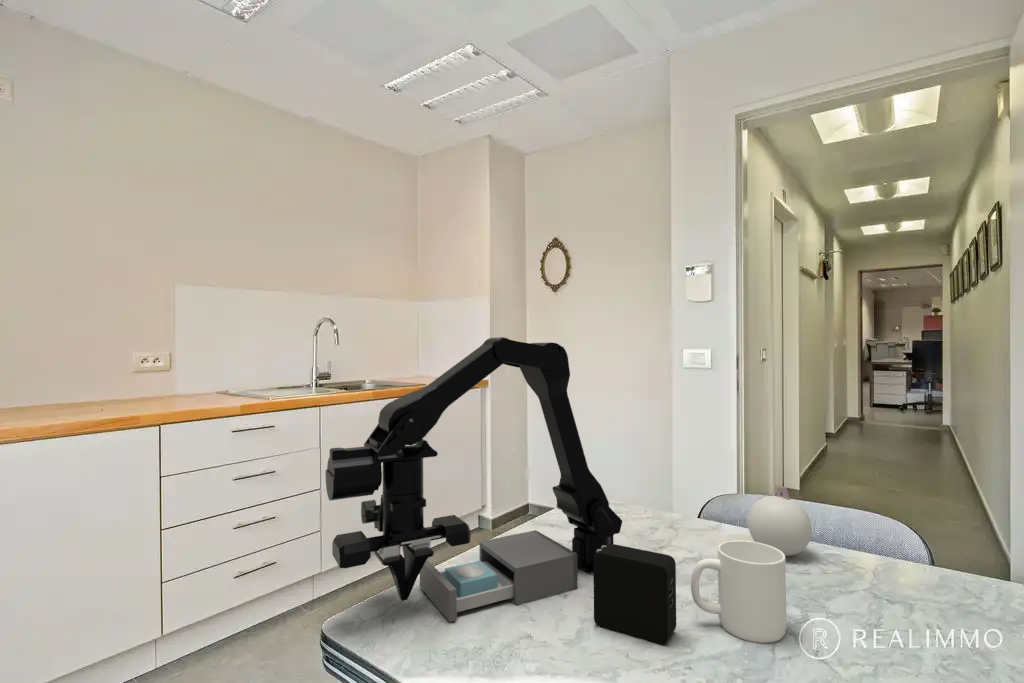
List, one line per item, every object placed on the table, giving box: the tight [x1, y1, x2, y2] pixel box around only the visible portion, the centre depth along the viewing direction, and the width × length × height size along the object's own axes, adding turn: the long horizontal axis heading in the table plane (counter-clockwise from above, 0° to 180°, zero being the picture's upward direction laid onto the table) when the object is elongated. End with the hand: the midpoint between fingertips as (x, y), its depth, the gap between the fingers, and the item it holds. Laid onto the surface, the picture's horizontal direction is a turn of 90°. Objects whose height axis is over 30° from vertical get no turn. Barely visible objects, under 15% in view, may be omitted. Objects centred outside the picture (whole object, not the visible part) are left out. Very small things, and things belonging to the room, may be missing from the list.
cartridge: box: [444, 560, 498, 598], centre depth 81 cm, size 6×6×3 cm
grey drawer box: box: [479, 530, 579, 606], centre depth 86 cm, size 11×12×5 cm
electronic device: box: [593, 543, 677, 646], centre depth 71 cm, size 4×10×10 cm, turn 58°
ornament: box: [747, 486, 812, 557], centre depth 97 cm, size 10×10×12 cm
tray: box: [419, 559, 514, 622], centre depth 81 cm, size 11×12×4 cm
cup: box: [690, 539, 787, 644], centre depth 72 cm, size 8×12×10 cm
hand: (403, 599), depth 76 cm, fingers closed
